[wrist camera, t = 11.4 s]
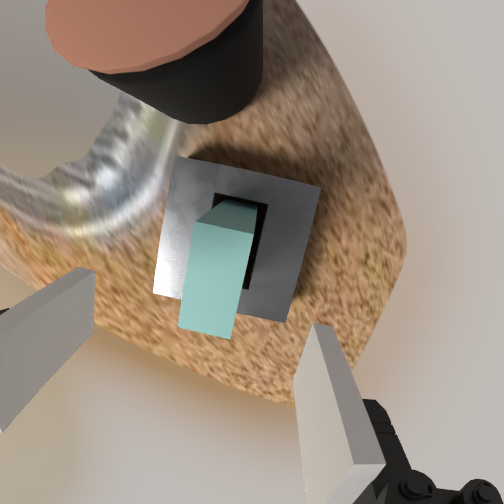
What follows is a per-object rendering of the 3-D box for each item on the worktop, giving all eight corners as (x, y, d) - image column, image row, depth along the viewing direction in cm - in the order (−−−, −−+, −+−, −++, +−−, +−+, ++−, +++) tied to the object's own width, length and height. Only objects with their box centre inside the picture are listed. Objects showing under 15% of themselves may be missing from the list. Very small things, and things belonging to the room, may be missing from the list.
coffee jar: (284, 56, 26) (306, -64, 8) (223, 147, 28) (166, 110, 11) (191, 12, 25) (132, -102, 7) (132, 97, 27) (11, 40, 10)
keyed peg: (226, 198, 29) (194, 221, 16) (257, 205, 30) (254, 234, 16) (213, 260, 31) (177, 326, 17) (244, 267, 31) (230, 339, 17)
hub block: (165, 278, 32) (152, 292, 28) (186, 157, 29) (175, 155, 25) (282, 305, 32) (285, 322, 28) (313, 185, 29) (321, 187, 25)
